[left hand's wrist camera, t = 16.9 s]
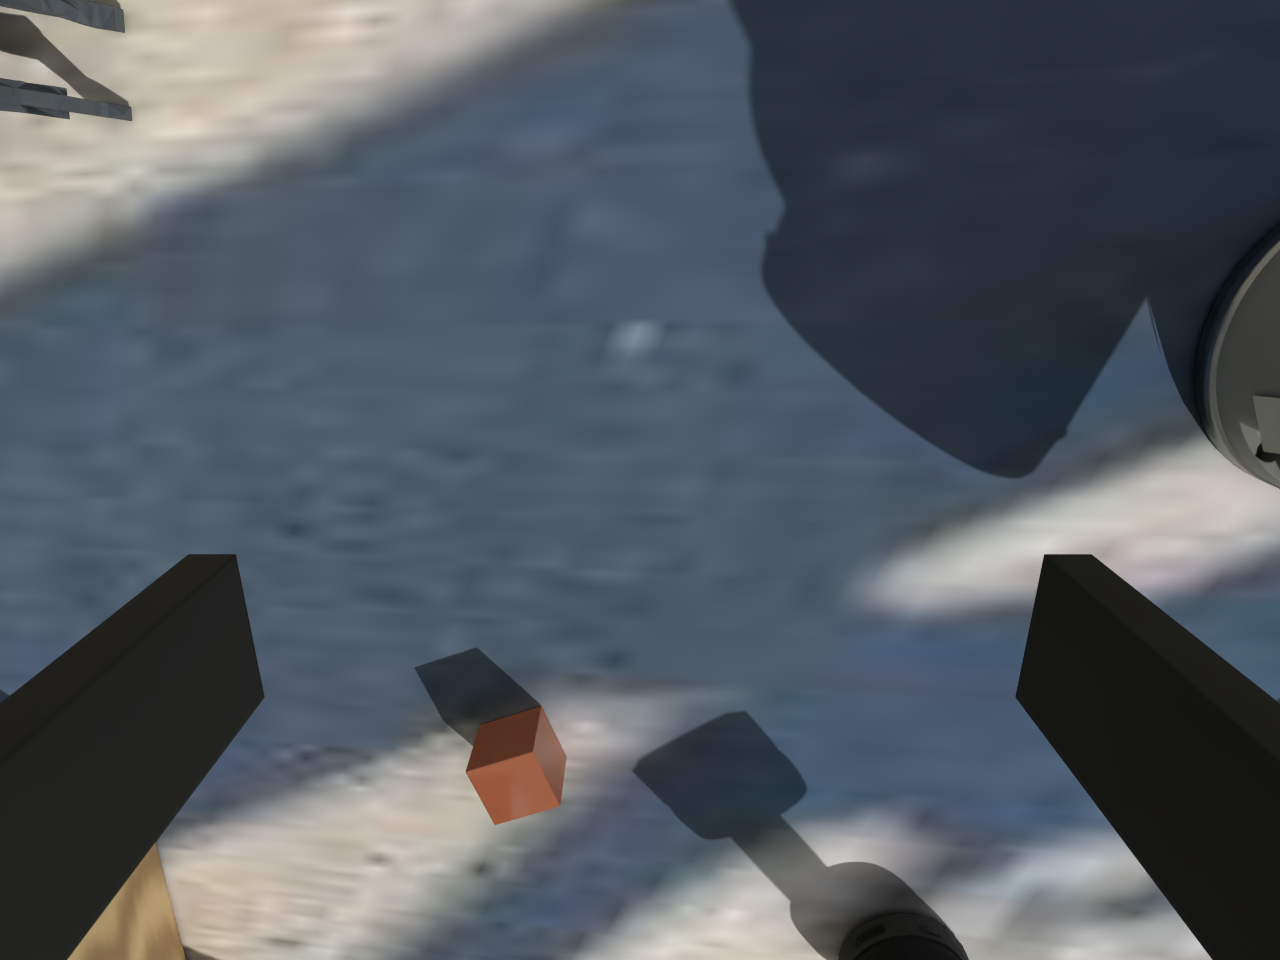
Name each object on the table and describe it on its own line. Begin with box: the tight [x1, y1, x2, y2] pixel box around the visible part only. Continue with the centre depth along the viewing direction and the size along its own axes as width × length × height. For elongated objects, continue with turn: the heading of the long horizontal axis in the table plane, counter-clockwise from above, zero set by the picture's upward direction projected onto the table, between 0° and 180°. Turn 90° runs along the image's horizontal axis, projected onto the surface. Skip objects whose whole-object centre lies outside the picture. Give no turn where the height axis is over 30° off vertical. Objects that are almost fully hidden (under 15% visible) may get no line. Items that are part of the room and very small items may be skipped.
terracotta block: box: [466, 706, 566, 825], centre depth 44 cm, size 4×4×4 cm
